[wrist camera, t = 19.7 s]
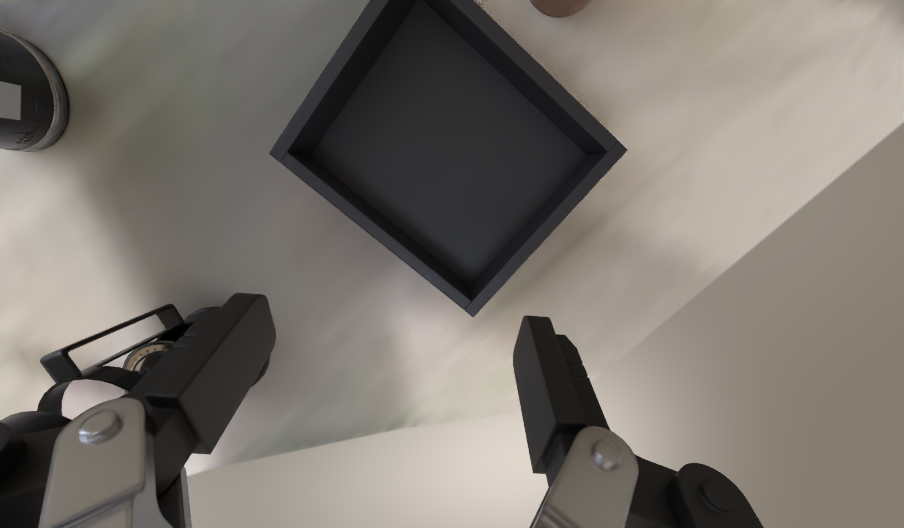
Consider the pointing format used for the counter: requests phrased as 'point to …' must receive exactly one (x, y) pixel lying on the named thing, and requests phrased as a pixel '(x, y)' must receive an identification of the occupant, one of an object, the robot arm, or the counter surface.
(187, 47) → the counter surface
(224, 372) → the robot arm
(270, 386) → the counter surface
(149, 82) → the counter surface
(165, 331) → the french press
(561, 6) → the brown cup
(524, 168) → the dark square tray
